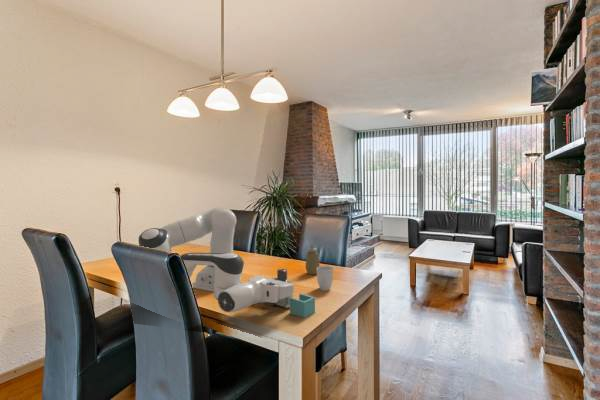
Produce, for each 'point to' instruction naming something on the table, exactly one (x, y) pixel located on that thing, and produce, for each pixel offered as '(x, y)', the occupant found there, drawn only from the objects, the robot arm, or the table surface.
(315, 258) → the squeeze bottle
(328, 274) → the cup
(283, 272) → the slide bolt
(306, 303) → the socket
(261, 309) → the table surface
